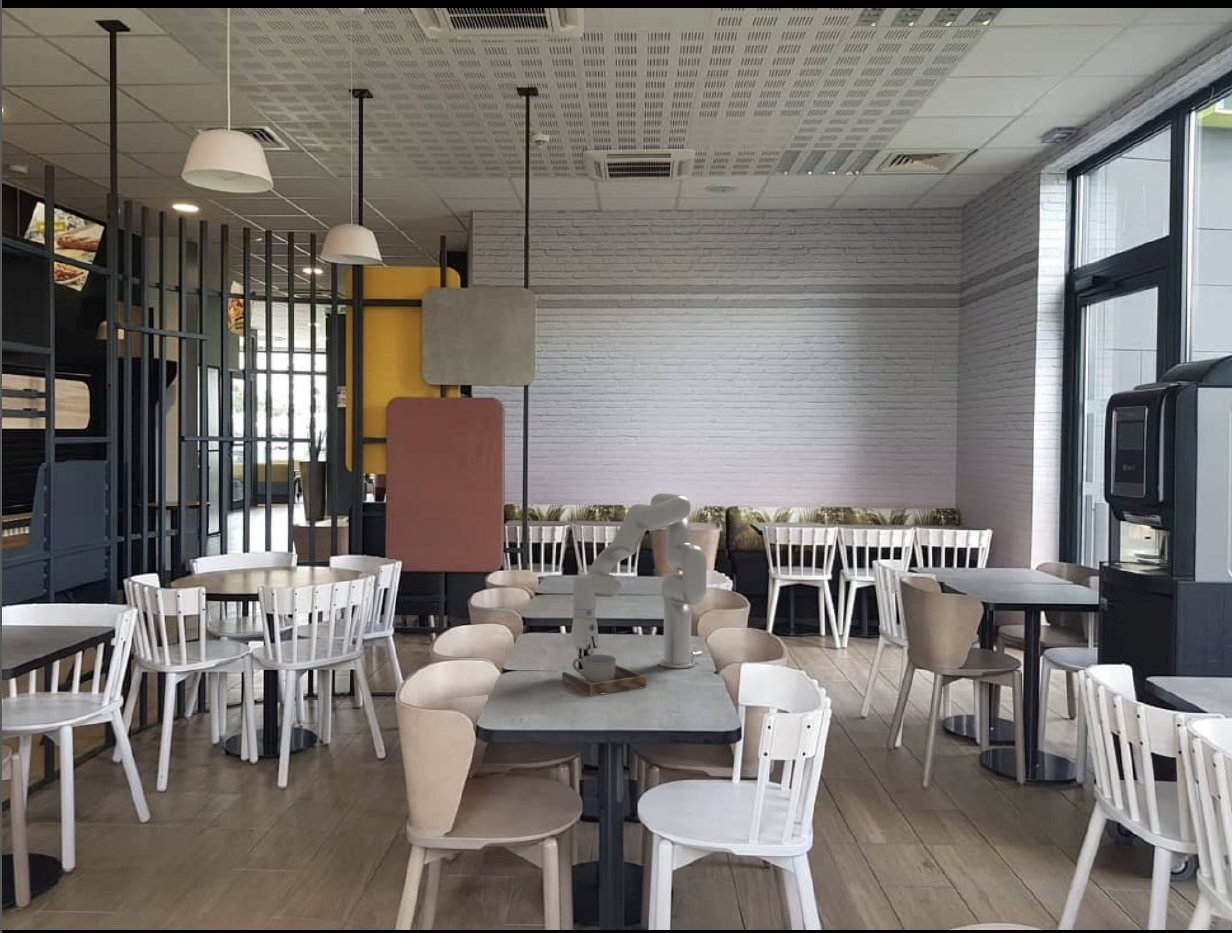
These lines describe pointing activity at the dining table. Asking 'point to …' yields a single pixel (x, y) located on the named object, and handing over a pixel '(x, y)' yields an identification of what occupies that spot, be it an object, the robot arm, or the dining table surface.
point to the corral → (607, 682)
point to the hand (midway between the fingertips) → (583, 668)
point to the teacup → (596, 667)
